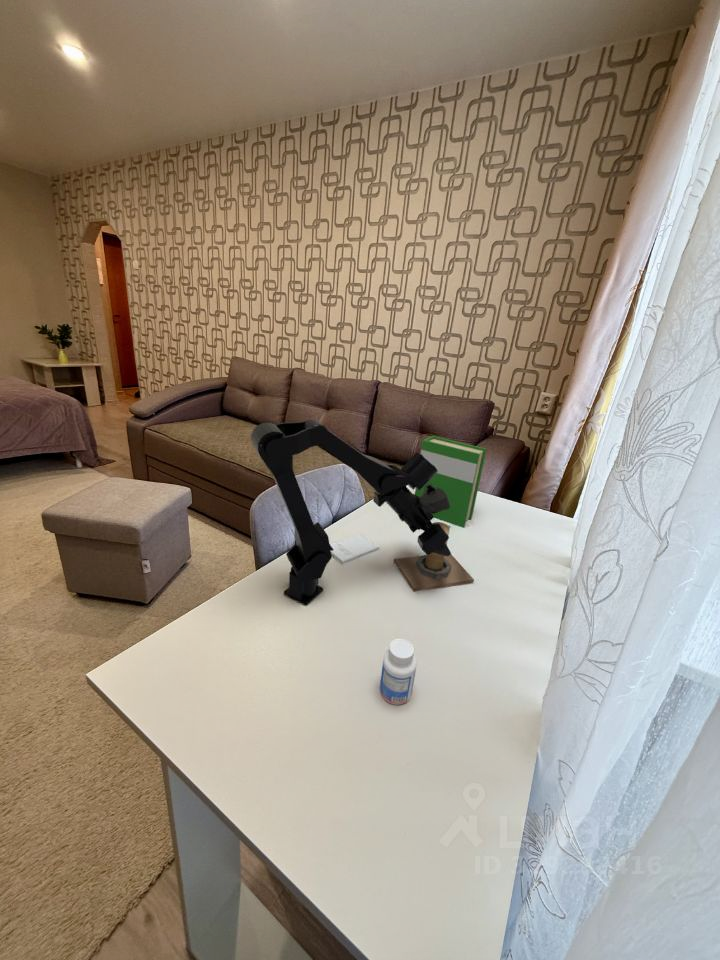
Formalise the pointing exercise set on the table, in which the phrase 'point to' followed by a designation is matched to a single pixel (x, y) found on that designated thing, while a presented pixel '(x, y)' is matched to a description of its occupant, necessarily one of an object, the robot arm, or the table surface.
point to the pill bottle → (398, 672)
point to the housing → (432, 573)
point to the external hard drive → (353, 548)
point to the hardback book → (454, 476)
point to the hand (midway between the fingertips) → (442, 544)
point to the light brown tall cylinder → (436, 560)
